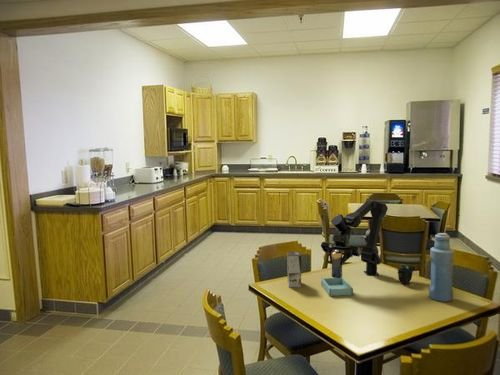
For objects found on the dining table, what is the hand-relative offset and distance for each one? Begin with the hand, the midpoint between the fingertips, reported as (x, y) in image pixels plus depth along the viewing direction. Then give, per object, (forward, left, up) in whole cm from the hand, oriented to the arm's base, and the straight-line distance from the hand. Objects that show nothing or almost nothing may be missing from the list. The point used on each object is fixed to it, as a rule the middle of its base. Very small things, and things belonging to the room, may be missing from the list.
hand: (335, 263), depth 191 cm
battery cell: (-1, +1, -7) cm, 7 cm away
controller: (-8, +39, -14) cm, 42 cm away
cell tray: (-1, +1, -13) cm, 13 cm away
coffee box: (-11, -18, -14) cm, 25 cm away
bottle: (+14, +45, -14) cm, 49 cm away
